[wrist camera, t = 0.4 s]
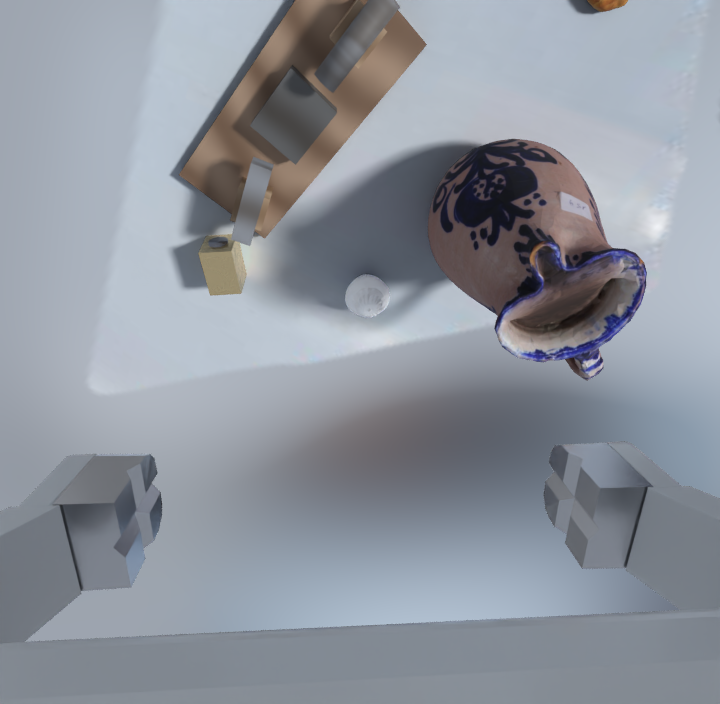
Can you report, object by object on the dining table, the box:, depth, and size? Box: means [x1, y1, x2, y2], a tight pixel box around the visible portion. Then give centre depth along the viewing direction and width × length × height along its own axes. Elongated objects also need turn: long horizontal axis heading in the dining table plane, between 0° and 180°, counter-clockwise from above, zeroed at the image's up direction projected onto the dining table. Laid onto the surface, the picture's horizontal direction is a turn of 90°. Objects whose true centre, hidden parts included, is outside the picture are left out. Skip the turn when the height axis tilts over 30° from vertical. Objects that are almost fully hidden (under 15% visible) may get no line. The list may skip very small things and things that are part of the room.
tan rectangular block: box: [198, 234, 246, 296], centre depth 61 cm, size 7×4×5 cm, turn 2°
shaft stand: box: [179, 0, 427, 246], centre depth 49 cm, size 28×12×8 cm, turn 137°
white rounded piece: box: [345, 274, 390, 318], centre depth 63 cm, size 6×6×7 cm
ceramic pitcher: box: [428, 139, 647, 380], centre depth 50 cm, size 18×21×25 cm
